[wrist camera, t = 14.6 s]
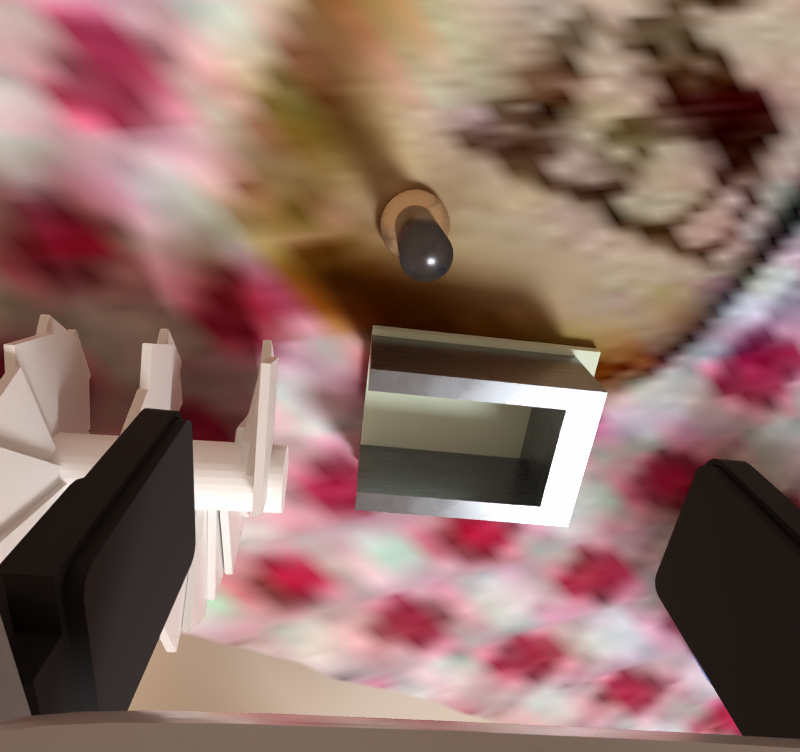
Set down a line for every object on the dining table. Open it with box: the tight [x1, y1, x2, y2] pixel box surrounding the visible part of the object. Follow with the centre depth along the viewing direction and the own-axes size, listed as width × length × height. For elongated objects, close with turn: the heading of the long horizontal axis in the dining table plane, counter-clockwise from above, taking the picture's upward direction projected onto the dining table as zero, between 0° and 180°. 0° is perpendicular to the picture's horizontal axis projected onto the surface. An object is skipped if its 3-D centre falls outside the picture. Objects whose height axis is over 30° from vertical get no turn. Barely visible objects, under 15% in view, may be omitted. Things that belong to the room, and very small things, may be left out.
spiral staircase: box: [0, 314, 289, 652], centre depth 32 cm, size 18×18×25 cm
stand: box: [380, 189, 453, 282], centre depth 31 cm, size 4×4×10 cm
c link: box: [355, 335, 607, 527], centre depth 38 cm, size 14×10×6 cm
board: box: [360, 325, 601, 458], centre depth 41 cm, size 16×11×1 cm
